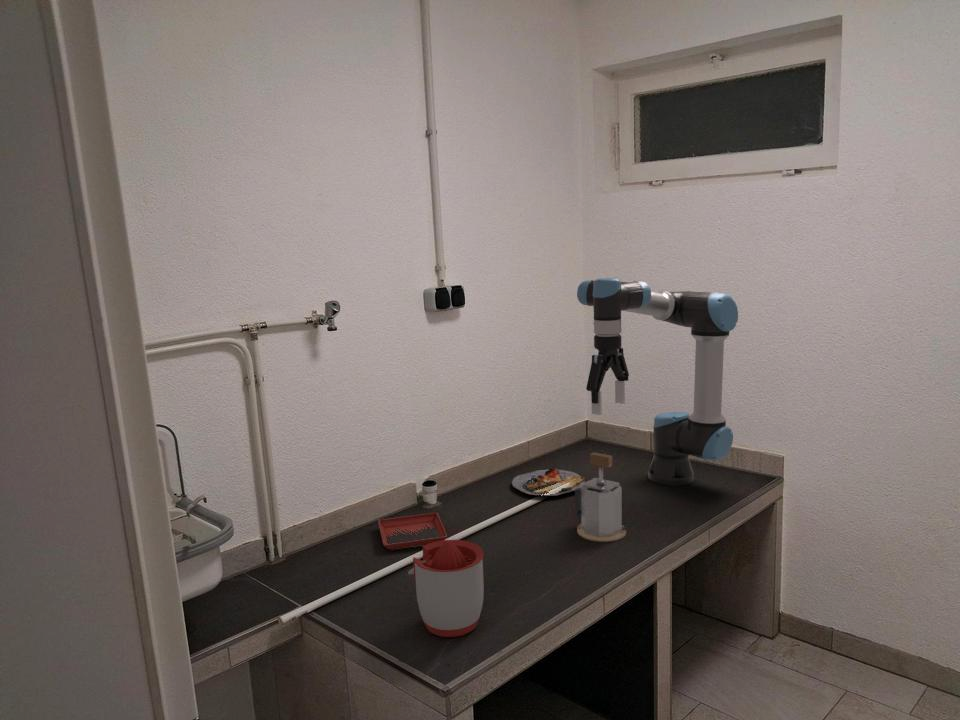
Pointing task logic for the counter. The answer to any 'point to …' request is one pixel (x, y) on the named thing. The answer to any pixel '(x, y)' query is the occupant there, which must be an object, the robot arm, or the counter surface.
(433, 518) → the plant saucer
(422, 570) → the citrus juicer
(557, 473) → the food plate
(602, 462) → the plunger
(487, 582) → the counter surface
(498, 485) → the counter surface
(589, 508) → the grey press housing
